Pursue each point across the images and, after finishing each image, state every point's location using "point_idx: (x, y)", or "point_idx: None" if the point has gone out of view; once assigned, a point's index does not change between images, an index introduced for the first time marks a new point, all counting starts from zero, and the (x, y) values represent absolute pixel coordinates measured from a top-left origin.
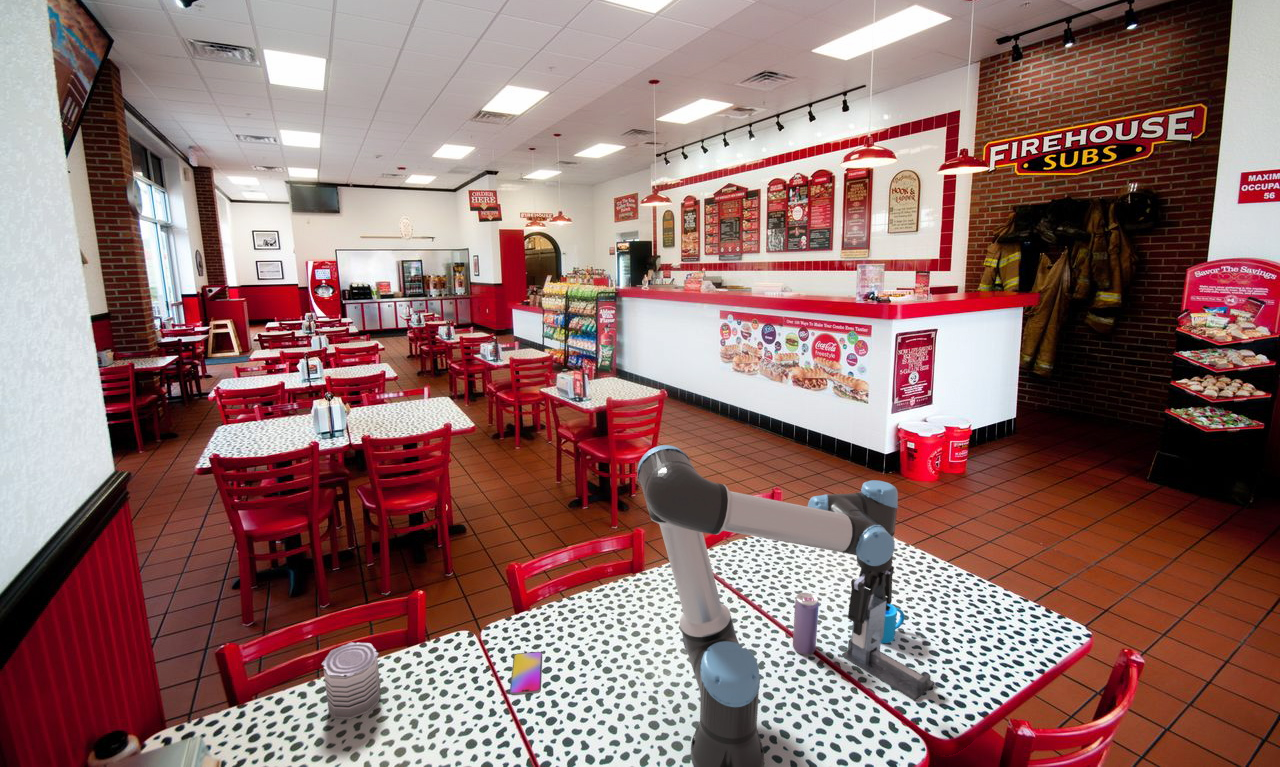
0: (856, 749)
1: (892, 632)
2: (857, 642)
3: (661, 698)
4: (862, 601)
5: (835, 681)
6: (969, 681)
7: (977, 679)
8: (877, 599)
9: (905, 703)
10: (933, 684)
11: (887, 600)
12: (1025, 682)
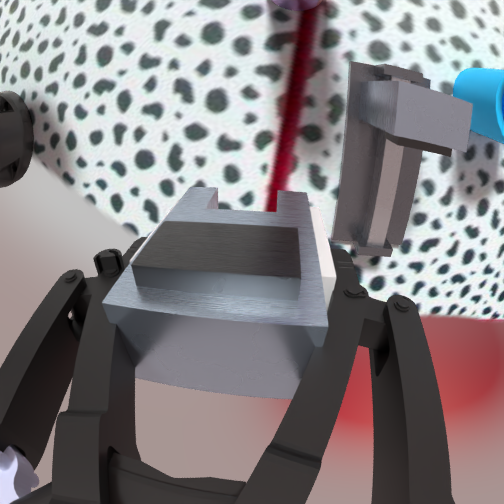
0: (140, 225)
1: (486, 136)
2: None
3: (3, 15)
4: (55, 407)
5: (253, 97)
6: (440, 273)
7: (450, 278)
8: (274, 376)
9: None
10: (396, 242)
11: (371, 353)
12: (469, 315)
